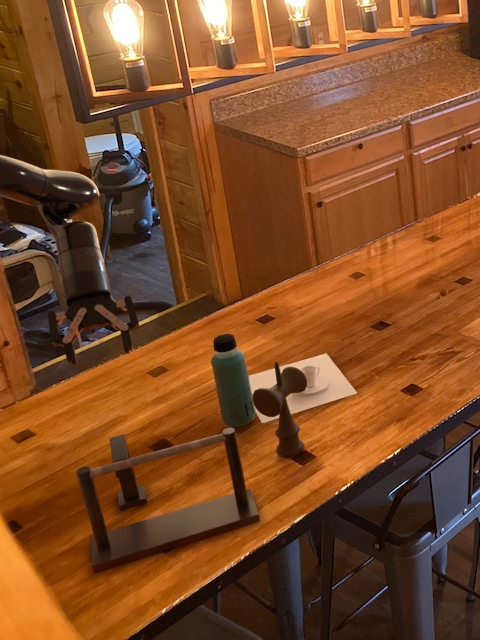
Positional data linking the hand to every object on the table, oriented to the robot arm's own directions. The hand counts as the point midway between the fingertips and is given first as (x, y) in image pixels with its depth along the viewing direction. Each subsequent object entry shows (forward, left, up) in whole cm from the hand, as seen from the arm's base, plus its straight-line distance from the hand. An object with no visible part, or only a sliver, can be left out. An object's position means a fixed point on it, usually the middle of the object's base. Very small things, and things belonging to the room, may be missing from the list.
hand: (101, 358), depth 171 cm
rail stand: (+6, -25, -23) cm, 35 cm away
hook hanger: (0, -15, -23) cm, 27 cm away
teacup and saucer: (+34, +12, -23) cm, 43 cm away
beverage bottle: (+21, +3, -23) cm, 31 cm away
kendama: (+28, -11, -23) cm, 38 cm away
